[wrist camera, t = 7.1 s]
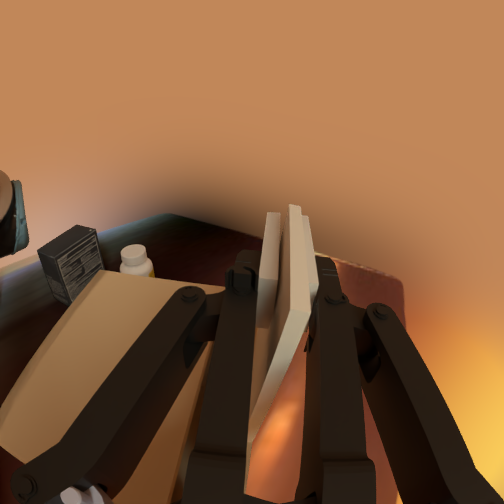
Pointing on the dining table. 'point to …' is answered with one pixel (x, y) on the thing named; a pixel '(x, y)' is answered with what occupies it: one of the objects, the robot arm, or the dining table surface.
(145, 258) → the supplement bottle
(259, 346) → the front flap
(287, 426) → the dining table surface
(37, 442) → the carton
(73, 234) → the small box
